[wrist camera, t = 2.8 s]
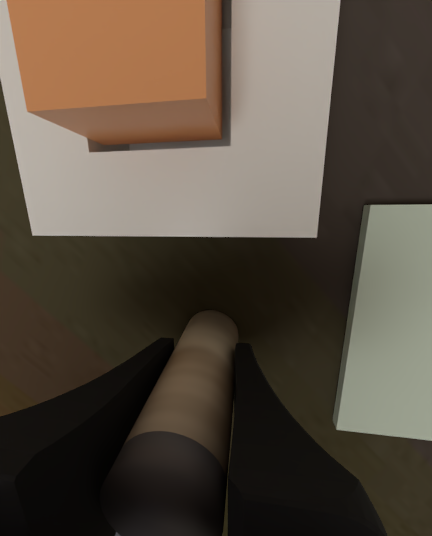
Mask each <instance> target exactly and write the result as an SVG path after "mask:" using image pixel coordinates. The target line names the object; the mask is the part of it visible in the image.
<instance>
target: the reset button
mask: <svg viewBox="0 0 432 536" xmlns="http://www.w3.org/2000/svg"><path fill="white" fill-rule="evenodd" d="M6 1H7V6H8V12H9V17H10V22H11V28H12V33H13V39H14V44H15V49H16V55H17V60H18V65H19V71H20V76H21V82H22V87H23V92H24V98H25V103H26V108H27V112H29V113H31V114H34V115H36V116H38V117H41V118H43V119H45V120H47V121H50V122H52V123H54V124H57V125H59V126H61V127H63V128H66V129H68V130H70V131H73V132H75V133H77V134H79V135H82V136H84V137H86V138H89V139H91V140H93V141H95V142H98V143H100V144H102V145H118V144H138V143H158V142H179V141H199V140H219V139H222V0H6Z"/></svg>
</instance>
